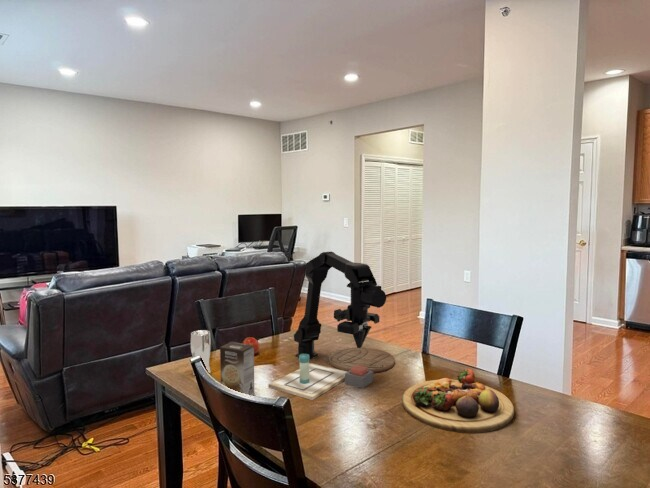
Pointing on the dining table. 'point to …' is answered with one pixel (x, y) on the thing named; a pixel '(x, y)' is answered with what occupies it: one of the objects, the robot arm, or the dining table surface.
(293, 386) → the board
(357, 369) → the button
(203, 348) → the beer glass
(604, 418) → the dining table surface
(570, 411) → the dining table surface
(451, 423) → the wooden plate with food
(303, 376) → the teal-banded white cylinder
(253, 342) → the pomegranate
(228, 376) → the coffee box
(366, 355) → the trivet
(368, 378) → the button housing
